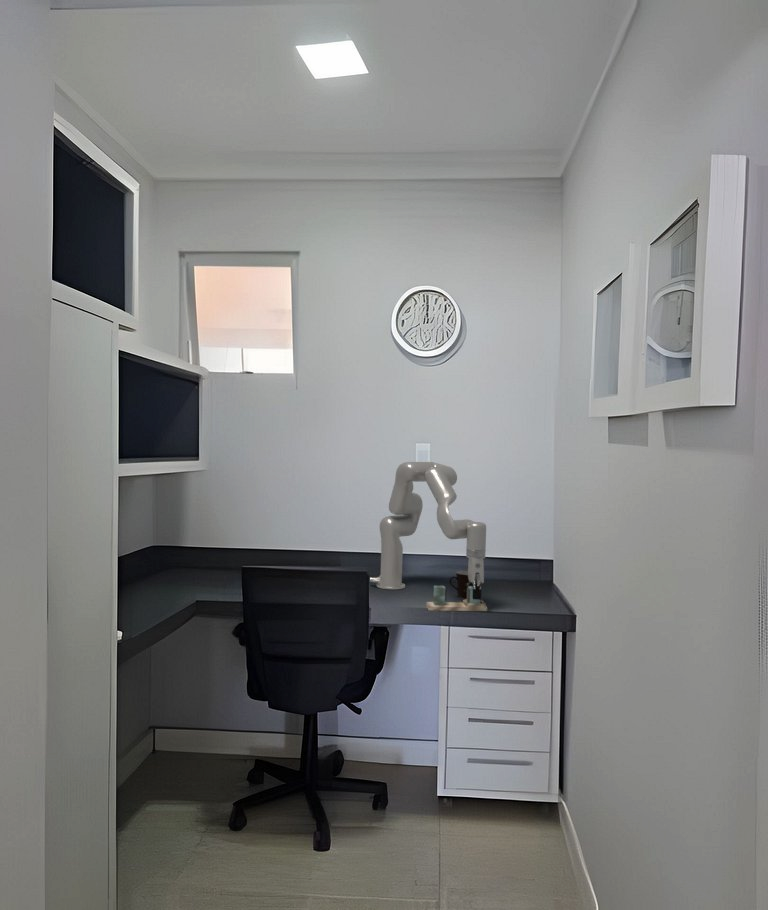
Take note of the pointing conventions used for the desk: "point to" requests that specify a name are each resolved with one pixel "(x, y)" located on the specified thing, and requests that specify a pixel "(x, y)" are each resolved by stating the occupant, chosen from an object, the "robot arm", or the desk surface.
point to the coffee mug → (461, 583)
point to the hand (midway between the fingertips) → (474, 596)
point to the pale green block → (471, 596)
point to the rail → (441, 603)
